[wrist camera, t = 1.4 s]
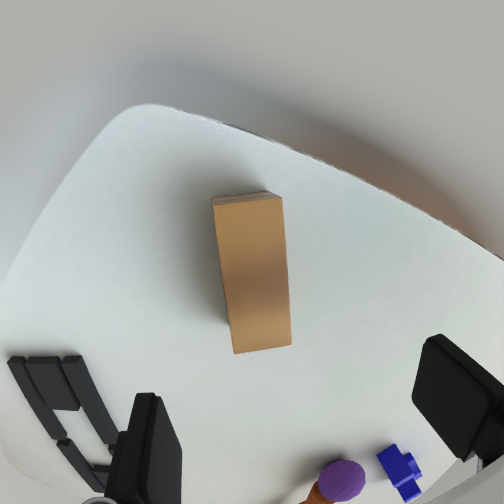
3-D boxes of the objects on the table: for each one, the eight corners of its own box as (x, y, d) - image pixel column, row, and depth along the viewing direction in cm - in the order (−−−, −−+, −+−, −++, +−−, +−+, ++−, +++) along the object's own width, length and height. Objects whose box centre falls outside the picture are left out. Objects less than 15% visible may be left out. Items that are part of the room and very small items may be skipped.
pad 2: (58, 437, 26) (56, 444, 25) (124, 442, 27) (123, 450, 26) (96, 485, 29) (94, 492, 28) (155, 489, 30) (155, 496, 29)
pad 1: (11, 356, 22) (6, 362, 21) (81, 355, 23) (77, 363, 22) (54, 432, 25) (52, 439, 24) (121, 436, 26) (119, 444, 25)
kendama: (250, 536, 30) (343, 483, 25) (252, 507, 36) (336, 446, 31) (283, 542, 31) (378, 490, 26) (284, 514, 37) (370, 456, 32)
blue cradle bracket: (414, 464, 37) (430, 487, 31) (391, 478, 37) (405, 503, 31) (404, 437, 33) (423, 466, 27) (376, 455, 33) (393, 485, 27)
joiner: (211, 197, 21) (212, 205, 17) (268, 190, 22) (281, 197, 18) (229, 325, 24) (234, 354, 20) (279, 318, 24) (292, 344, 21)
